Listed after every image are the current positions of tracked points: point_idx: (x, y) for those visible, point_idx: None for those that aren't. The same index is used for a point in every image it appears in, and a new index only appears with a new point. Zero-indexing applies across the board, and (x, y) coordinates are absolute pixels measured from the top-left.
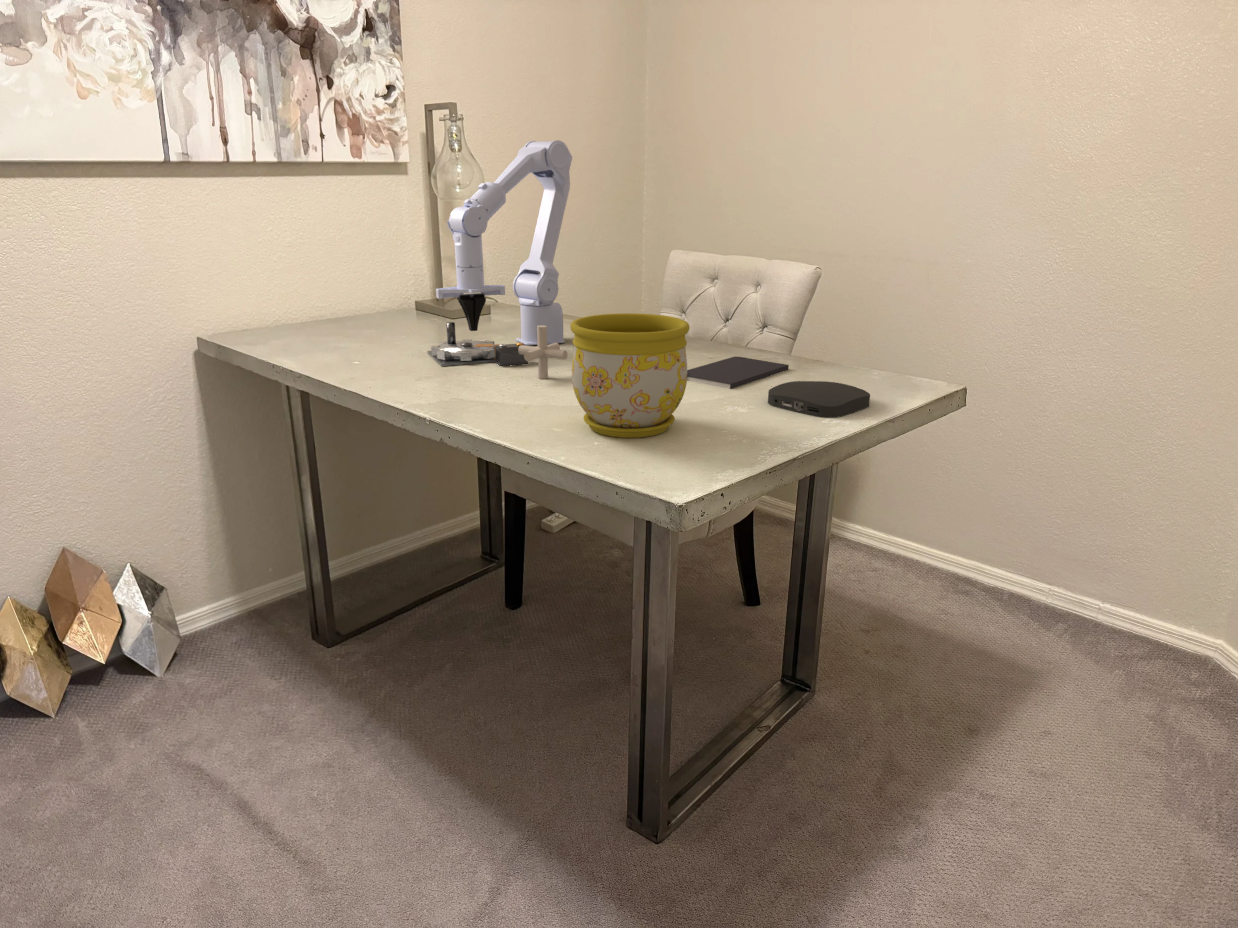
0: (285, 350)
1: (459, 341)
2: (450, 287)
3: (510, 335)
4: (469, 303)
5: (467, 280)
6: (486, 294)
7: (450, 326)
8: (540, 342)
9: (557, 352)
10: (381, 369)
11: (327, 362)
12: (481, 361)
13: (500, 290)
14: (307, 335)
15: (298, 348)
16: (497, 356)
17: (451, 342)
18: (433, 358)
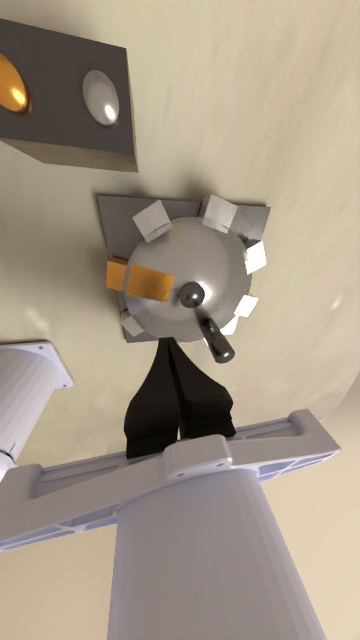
0: (332, 374)
1: (188, 338)
2: (262, 480)
3: (83, 407)
4: (201, 390)
5: (265, 569)
6: (114, 459)
7: (226, 343)
8: None
9: None
10: (353, 238)
11: (354, 315)
12: (175, 201)
13: (20, 499)
14: (279, 415)
15: (319, 379)
16: (134, 133)
17: (212, 321)
18: None
